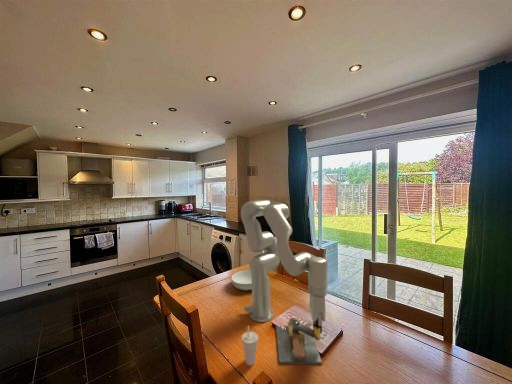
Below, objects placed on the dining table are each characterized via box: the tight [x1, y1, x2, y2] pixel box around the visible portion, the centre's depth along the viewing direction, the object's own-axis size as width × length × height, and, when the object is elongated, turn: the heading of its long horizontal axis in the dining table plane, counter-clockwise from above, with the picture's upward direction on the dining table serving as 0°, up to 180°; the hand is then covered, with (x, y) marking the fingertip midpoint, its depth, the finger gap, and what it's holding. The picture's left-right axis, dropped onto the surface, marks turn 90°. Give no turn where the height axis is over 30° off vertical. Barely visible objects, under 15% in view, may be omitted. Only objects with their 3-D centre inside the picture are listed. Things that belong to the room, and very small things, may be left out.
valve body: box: [275, 317, 323, 365], centre depth 89 cm, size 16×20×6 cm
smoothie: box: [241, 325, 259, 366], centre depth 80 cm, size 6×6×14 cm
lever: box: [292, 319, 322, 341], centre depth 86 cm, size 12×3×5 cm, turn 50°
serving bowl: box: [230, 269, 252, 291], centre depth 140 cm, size 21×21×7 cm
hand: (317, 331), depth 86 cm, fingers closed
